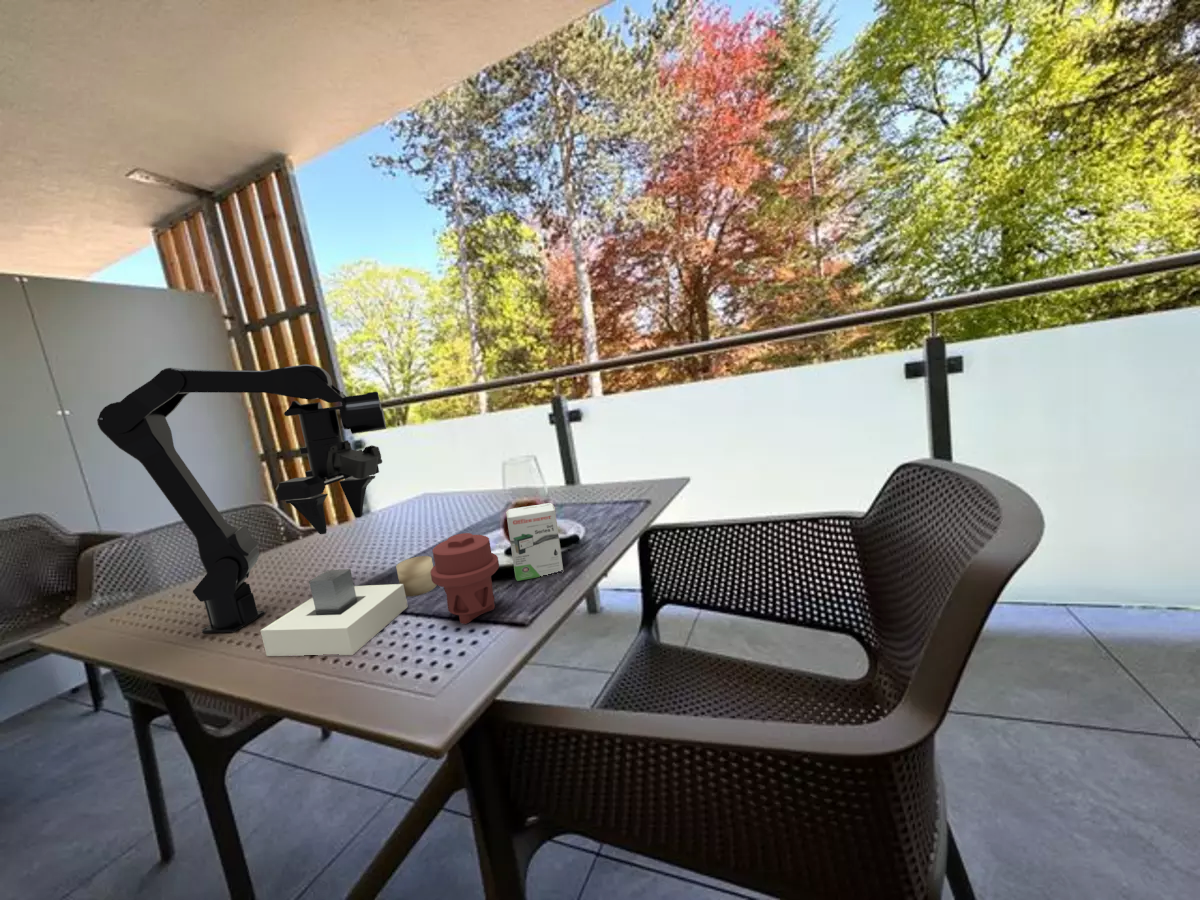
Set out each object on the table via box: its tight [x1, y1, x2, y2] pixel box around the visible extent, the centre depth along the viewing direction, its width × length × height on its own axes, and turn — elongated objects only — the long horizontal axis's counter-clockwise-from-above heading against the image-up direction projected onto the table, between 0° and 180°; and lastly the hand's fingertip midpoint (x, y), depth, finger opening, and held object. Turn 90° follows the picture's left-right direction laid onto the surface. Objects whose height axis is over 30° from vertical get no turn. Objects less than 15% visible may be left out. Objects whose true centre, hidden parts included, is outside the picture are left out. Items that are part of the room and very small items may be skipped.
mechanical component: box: [430, 532, 500, 625], centre depth 78 cm, size 12×10×10 cm
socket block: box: [260, 583, 409, 657], centre depth 78 cm, size 14×14×4 cm
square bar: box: [308, 568, 357, 615], centre depth 78 cm, size 4×4×9 cm
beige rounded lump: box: [395, 555, 437, 597], centre depth 91 cm, size 6×6×5 cm
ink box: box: [505, 502, 564, 582], centre depth 91 cm, size 9×5×12 cm, turn 102°
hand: (341, 525), depth 90 cm, fingers open, 9 cm apart
